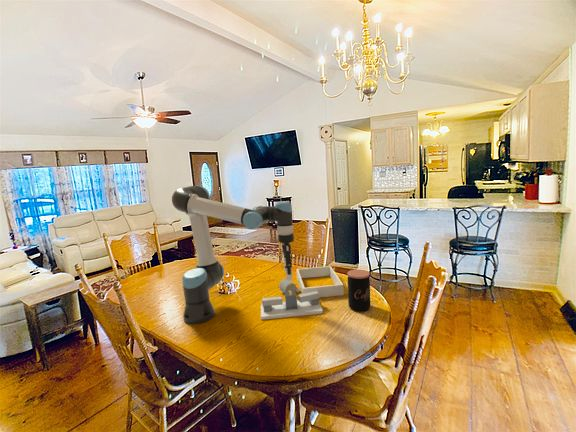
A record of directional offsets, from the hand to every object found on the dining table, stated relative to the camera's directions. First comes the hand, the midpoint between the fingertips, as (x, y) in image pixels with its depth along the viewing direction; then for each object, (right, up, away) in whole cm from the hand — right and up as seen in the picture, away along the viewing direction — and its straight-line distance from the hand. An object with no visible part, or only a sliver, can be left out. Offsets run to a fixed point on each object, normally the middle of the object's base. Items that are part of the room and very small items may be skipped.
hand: (288, 275), depth 156 cm
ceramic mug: (+1, -15, +24) cm, 28 cm away
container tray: (+18, -12, +31) cm, 38 cm away
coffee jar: (+35, -16, +1) cm, 39 cm away
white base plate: (+1, -18, +3) cm, 18 cm away
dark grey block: (+2, -16, +3) cm, 17 cm away
